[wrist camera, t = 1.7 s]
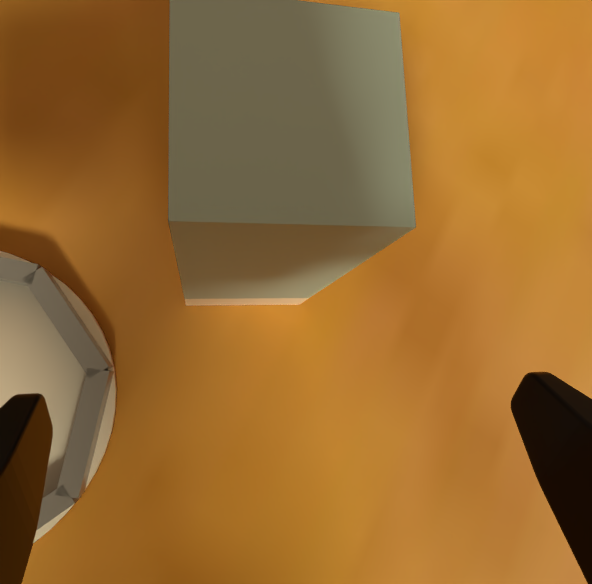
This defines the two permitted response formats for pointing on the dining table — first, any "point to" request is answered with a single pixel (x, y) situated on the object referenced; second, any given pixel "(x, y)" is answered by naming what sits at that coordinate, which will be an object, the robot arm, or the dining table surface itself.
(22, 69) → the dining table surface
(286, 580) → the dining table surface
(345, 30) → the gray block
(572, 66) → the dining table surface
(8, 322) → the coaster
